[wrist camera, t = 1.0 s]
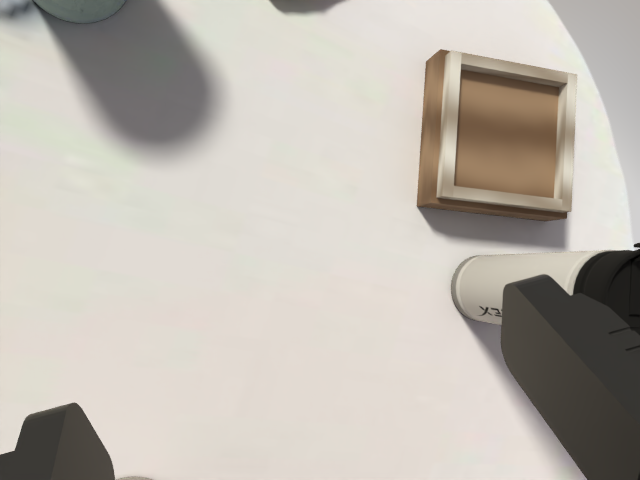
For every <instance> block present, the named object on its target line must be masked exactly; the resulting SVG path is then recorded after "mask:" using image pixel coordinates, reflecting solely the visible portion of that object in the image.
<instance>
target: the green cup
mask: <svg viewBox="0 0 640 480" xmlns="http://www.w3.org/2000/svg"><path fill="white" fill-rule="evenodd" d="M34 1H35V2H36V3H37V4H38V5H39V6H40V7H41V8H42V9H43V10H45V11H46V12H48V13H49V14H51V15H53V16H55V17H57V18H59V19H62V20H65V21H69V22H74V23H93V22H97V21H101V20H103V19H106V18H108V17H110V16H111V15H113V14H115V13H116V12H117V11H118V10H119V9H120V8H121V7H122V6H123V4H124V3H125V2H126V0H34Z"/></svg>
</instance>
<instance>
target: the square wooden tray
mask: <svg viewBox="0 0 640 480" xmlns="http://www.w3.org/2000/svg"><path fill="white" fill-rule="evenodd" d="M576 90H577V74H572V73H567V72H562V71H556V70H551V69H546V68H541V67H535V66H530V65H525V64H520V63H514V62H509V61H504V60H499V59H493V58H488V57H483V56H478V55H472V54H467V53H462V52H457V51H446V50H441V49H440V50H439V51H438V52H437V53H436V54H434V55H433V56H432V57H431V58H430V59H429V60H427V61H426V71H425V87H424V103H423V118H422V134H421V149H420V165H419V180H418V196H417V206H418V207H427V208H435V209H444V210H453V211H462V212H471V213H479V214H488V215H497V216H506V217H515V218H523V219H532V220H541V221H551V220H559V219H566V218H567V212H571V204H572V181H573V158H574V136H575V113H576Z"/></svg>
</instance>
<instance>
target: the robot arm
mask: <svg viewBox="0 0 640 480" xmlns="http://www.w3.org/2000/svg"><path fill="white" fill-rule="evenodd" d="M501 348H502V353H503V356H504V359H505V362H506V364H507V366H508V368H509V370H510V372H511V373H512V375H513V376H514V378H515V379H516V381H517V382H518V383H519V385H520V386H521V388H522V389H523V390H524V392H525V393H526V395H527V396H528V397H529V399H530V400H531V402H532V403H533V404H534V406H535V407H536V409H537V410H538V411H539V413H540V414H541V415H542V417H543V418H544V420H545V421H546V422H547V424H548V425H549V427H550V428H551V429H552V431H553V432H554V434H555V435H556V436H557V438H558V439H559V441H560V442H561V443H562V445H563V446H564V448H565V449H566V450H567V452H568V453H569V455H570V456H571V457H572V459H573V460H574V462H575V463H576V464H577V466H578V467H579V469H580V470H581V471H582V473H583V474H584V476H585V477H586V478H587V480H640V335H639V334H638V333H636V332H635V331H631V329H630V326H629V325H628V324H627V323H626V322H625V321H624V320H622V319H621V318H620V317H619V316H618V315H617V314H616V313H615V312H614V311H613V310H612V309H611V308H609V307H608V306H606V305H604V304H602V303H600V302H598V301H596V300H594V299H592V298H590V297H588V296H586V295H584V294H582V293H577V294H574V295H569V294H568V293H567V292H566V291H565V290H564V289H563V288H562V287H561V286H560V285H559V284H558V283H557V282H556V281H555V280H554V279H553V278H552V277H550V276H549V275H546V274H541V275H538V276H534V277H530V278H527V279H523V280H519V281H516V282H512V283H508V284H506V285H505V287H504V289H503V301H502V325H501ZM0 480H115V476H114V469H113V465H112V461H111V458H110V456H109V454H108V452H107V450H106V449H105V447H104V445H103V444H102V442H101V440H100V438H99V437H98V435H97V433H96V432H95V430H94V428H93V427H92V425H91V423H90V422H89V420H88V418H87V417H86V415H85V413H84V412H83V410H82V408H81V407H80V406H79V405H78V404H77V403H70V404H67V405H63V406H59V407H56V408H52V409H48V410H45V411H41V412H37V413H33V414H30V415H28V416H27V417H26V419H25V420H24V423H23V425H22V429H21V432H20V435H19V438H18V442H17V445H16V448H15V451H12V452H9V453H5V454H1V455H0ZM116 480H152V479H149V478H145V477H125V478H120V479H116Z"/></svg>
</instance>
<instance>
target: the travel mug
mask: <svg viewBox="0 0 640 480" xmlns="http://www.w3.org/2000/svg"><path fill="white" fill-rule="evenodd" d="M634 247H639V248H640V243H637V244H634ZM541 274H546V275H549V276H550V277H552V278H553V279H554V280H555V281H556V282H557V283H558V284H559V285H560V286H561V287H562V288H563V289H564V290H565V291H566V292H567V293H568V294H569V295H574V294H577V293H582V294H584V295H586V296H588V297H590V298H592V299H594V300H596V301H598V302H600V303H602V304H604V305H606V306H608V307H609V308H611V309H612V310H613V311H614V312H615V313H616V314H617V315H618V316H619V317H620V318H621V319H622V320H624V321H625V322H626V323H627V324H628V325H629V326H630V329H631V331H635V332H636V333H638V334H639V335H640V249H638V250H635V251H630V250H623V251H615V250H601V251H577V252H552V253H528V254H503V255H480V256H473V257H470V258H468V259H466V260H465V261H463V262H462V263H461V264H460V265H459V266H458V268H457V269H456V271H455V273H454V275H453V278H452V283H451V294H452V298H453V301H454V303H455V305H456V307H457V308H458V310H459V311H460V312H461V313H462V314H463V315H465V316H466V317H468V318H470V319H472V320H476V321H482V322H487V323H493V324H498V325H502V301H503V289H504V287H505V285H506V284H508V283H512V282H516V281H519V280H523V279H527V278H530V277H534V276H538V275H541Z"/></svg>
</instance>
